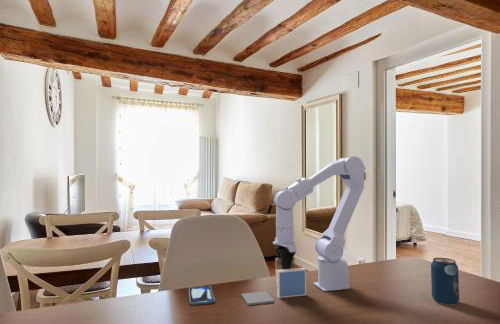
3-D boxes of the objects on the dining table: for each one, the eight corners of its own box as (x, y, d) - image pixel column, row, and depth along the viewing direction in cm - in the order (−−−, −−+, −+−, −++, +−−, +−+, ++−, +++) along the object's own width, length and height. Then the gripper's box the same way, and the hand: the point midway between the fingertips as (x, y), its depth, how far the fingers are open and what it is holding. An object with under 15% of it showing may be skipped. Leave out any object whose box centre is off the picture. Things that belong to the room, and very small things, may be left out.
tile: (304, 293, 105) (303, 267, 106) (306, 295, 104) (305, 269, 104) (277, 296, 103) (276, 270, 103) (278, 298, 101) (278, 271, 102)
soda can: (462, 307, 93) (461, 263, 93) (434, 304, 95) (433, 262, 96) (455, 298, 99) (454, 258, 100) (429, 296, 102) (428, 256, 102)
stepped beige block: (292, 279, 110) (292, 256, 110) (294, 281, 109) (294, 257, 109) (275, 281, 109) (275, 258, 109) (277, 283, 107) (276, 259, 107)
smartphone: (210, 285, 112) (215, 300, 98) (210, 288, 112) (215, 304, 98) (188, 287, 111) (189, 303, 96) (188, 290, 111) (189, 306, 96)
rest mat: (266, 293, 106) (266, 291, 106) (274, 302, 98) (274, 300, 98) (241, 295, 104) (241, 293, 104) (247, 305, 96) (247, 303, 96)
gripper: (266, 225, 115) (266, 265, 115) (280, 231, 101) (281, 277, 101) (285, 224, 117) (286, 263, 117) (302, 230, 103) (303, 275, 103)
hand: (285, 269), depth 109 cm, fingers closed on stepped beige block, 2 cm apart
